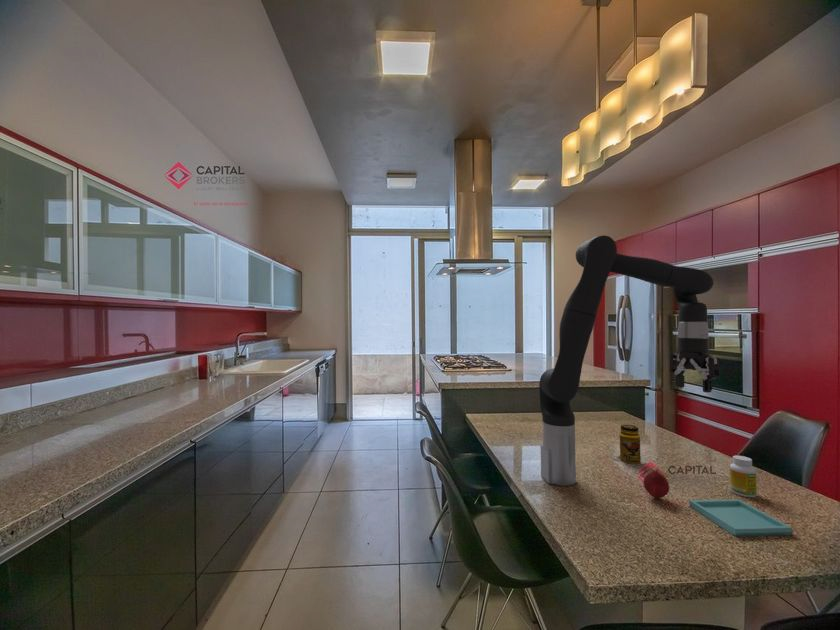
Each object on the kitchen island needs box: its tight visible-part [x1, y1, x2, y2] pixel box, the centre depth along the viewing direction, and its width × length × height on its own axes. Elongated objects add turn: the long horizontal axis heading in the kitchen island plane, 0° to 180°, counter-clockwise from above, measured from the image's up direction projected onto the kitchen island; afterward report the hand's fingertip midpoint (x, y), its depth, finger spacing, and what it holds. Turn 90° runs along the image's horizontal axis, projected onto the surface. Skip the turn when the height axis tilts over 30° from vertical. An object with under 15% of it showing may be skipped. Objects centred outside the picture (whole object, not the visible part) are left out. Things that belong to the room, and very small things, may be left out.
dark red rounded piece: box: [643, 467, 670, 500], centre depth 97 cm, size 6×6×8 cm
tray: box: [688, 498, 793, 537], centre depth 86 cm, size 13×13×2 cm
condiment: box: [610, 424, 648, 467], centre depth 124 cm, size 7×8×12 cm
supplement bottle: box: [729, 455, 758, 498], centre depth 100 cm, size 5×5×10 cm
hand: (693, 389), depth 110 cm, fingers open, 8 cm apart
